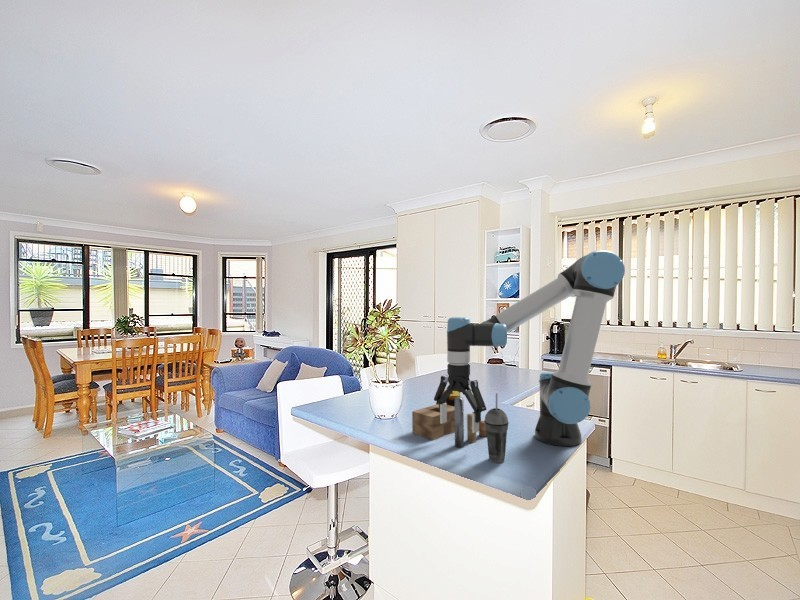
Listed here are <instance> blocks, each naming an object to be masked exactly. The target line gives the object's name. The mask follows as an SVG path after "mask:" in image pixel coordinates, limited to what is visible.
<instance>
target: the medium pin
mask: <svg viewBox="0 0 800 600" xmlns="http://www.w3.org/2000/svg"><path fill="white" fill-rule="evenodd" d="M466 421H467V422H466V423H467V424H466V426H467V427H466V431H467V432H466V433H467V434H466V435H467V436H466V438H467V442H469V443H476V442H477V432H476V433H472V413H467V414H466Z"/></svg>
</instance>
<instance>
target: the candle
mask: <svg viewBox="0 0 800 600" xmlns="http://www.w3.org/2000/svg"><path fill="white" fill-rule="evenodd" d="M445 391H446V389H445V390H444V392H445ZM444 392H443V393H444ZM455 397H461V392H458V391H453V392H452V393H451V394H450V396H449V397H448V398H447V400H446V401H445V402H444V403H447V405H450V406H454V398H455ZM437 404H439V403H438V402H437V401H436V403H435V405H437Z"/></svg>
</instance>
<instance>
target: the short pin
mask: <svg viewBox="0 0 800 600" xmlns="http://www.w3.org/2000/svg"><path fill="white" fill-rule="evenodd" d="M484 421H485V420H481V422H479V431H478V436H479V437H480V438H487V432H486V427H485V422H484Z"/></svg>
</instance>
